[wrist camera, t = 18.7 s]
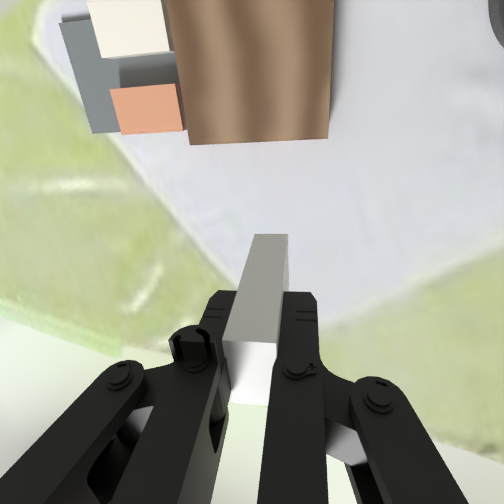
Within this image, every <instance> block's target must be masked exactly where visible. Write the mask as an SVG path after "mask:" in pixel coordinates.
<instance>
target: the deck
mask: <svg viewBox="0 0 504 504" xmlns="http://www.w3.org/2000/svg"><path fill="white" fill-rule="evenodd" d="M166 2H167V8H168V15H169V21H170V27H171V33H172V39H173V45H174V51H175V57H176V63H177V69H178V75H179V81H180V88H181V94H182V100H183V106H184V112H185V118H186V124H187V130H188V136H189V142H190V145H206V144H227V143H247V142H268V141H288V140H309V139H328V128H329V106H330V84H331V62H332V40H333V18H334V0H166Z"/></svg>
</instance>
